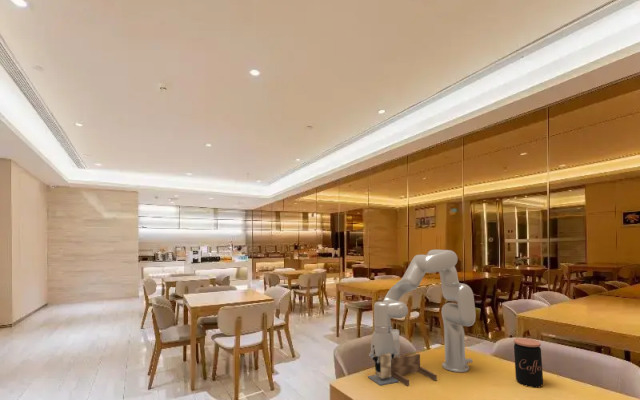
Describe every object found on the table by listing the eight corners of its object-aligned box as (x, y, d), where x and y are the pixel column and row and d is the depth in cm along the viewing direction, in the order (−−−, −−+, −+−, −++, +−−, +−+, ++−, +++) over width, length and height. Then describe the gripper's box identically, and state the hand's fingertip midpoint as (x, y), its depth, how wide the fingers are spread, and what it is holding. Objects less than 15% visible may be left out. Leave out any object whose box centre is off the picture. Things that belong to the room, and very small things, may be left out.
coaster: (386, 374, 165) (386, 373, 165) (398, 382, 156) (398, 380, 156) (368, 377, 161) (368, 376, 162) (379, 385, 152) (379, 384, 152)
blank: (385, 372, 162) (384, 350, 163) (391, 376, 158) (390, 353, 159) (375, 374, 160) (375, 351, 162) (381, 378, 156) (381, 355, 157)
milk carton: (400, 372, 168) (399, 331, 171) (385, 370, 170) (384, 330, 172) (399, 366, 175) (398, 327, 178) (385, 365, 177) (384, 327, 179)
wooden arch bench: (418, 371, 170) (418, 353, 171) (436, 380, 158) (436, 362, 159) (390, 375, 163) (390, 358, 164) (407, 386, 152) (406, 367, 153)
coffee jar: (518, 385, 153) (515, 343, 155) (513, 377, 163) (511, 337, 165) (546, 389, 149) (543, 346, 151) (540, 380, 159) (537, 339, 161)
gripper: (393, 325, 168) (394, 365, 166) (362, 329, 162) (363, 370, 159) (402, 329, 161) (403, 370, 159) (371, 333, 155) (371, 376, 153)
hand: (383, 369), depth 159 cm, fingers closed on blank, 4 cm apart
